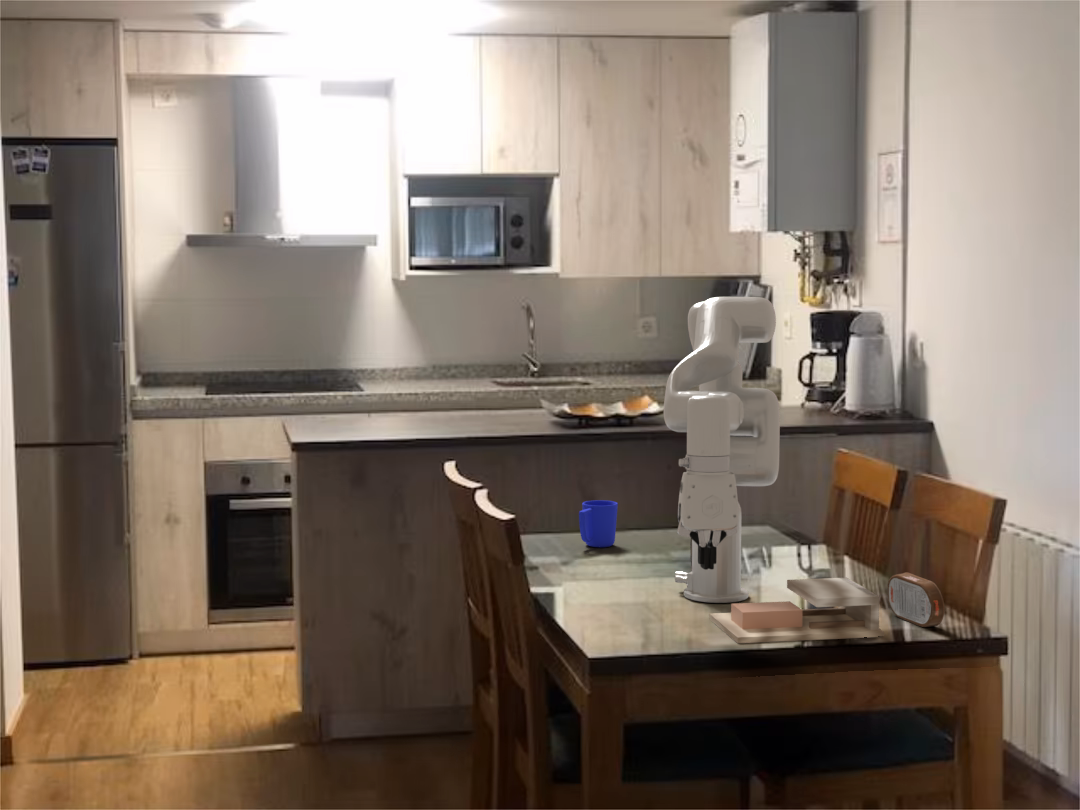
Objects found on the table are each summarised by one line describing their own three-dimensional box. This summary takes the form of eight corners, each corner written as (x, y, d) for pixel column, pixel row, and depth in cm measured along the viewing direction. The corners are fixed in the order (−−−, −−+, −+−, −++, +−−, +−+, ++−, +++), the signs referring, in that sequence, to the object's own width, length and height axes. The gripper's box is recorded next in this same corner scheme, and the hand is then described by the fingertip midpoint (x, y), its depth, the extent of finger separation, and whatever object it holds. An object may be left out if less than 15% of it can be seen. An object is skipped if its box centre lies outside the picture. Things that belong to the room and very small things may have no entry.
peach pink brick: (789, 617, 275) (789, 601, 274) (802, 626, 268) (802, 610, 267) (731, 619, 273) (731, 603, 273) (742, 629, 266) (742, 612, 266)
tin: (945, 630, 269) (946, 584, 268) (930, 632, 268) (931, 585, 267) (898, 612, 283) (899, 568, 282) (883, 613, 282) (884, 569, 281)
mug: (566, 549, 346) (566, 505, 345) (594, 541, 355) (594, 499, 355) (596, 553, 341) (596, 509, 340) (624, 544, 351) (624, 502, 350)
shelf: (737, 643, 260) (738, 603, 260) (709, 618, 278) (709, 581, 277) (883, 636, 265) (884, 597, 264) (846, 613, 282) (847, 576, 282)
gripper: (672, 468, 261) (671, 573, 262) (755, 466, 263) (754, 570, 264) (661, 463, 268) (660, 565, 269) (742, 462, 271) (741, 563, 272)
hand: (707, 568), depth 267 cm, fingers closed
